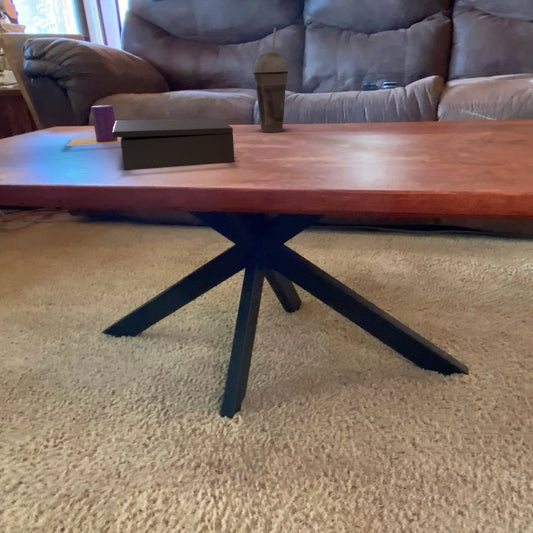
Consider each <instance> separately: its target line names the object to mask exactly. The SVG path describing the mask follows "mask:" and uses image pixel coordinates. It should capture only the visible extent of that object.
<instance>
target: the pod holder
mask: <svg viewBox="0 0 533 533" xmlns="http://www.w3.org/2000/svg"><path fill="white" fill-rule="evenodd" d="M234 145H235V144H234V134H233V133H229V134H200V135H172V136H143V137H121V142H120V147H121V154H122V162H123V169H124V171H135V170H148V169H162V168H163V169H164V168H176V167H187V166H188V167H189V166H200V165H216V164H226V163H227V164H228V163H235V146H234Z"/></svg>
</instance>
